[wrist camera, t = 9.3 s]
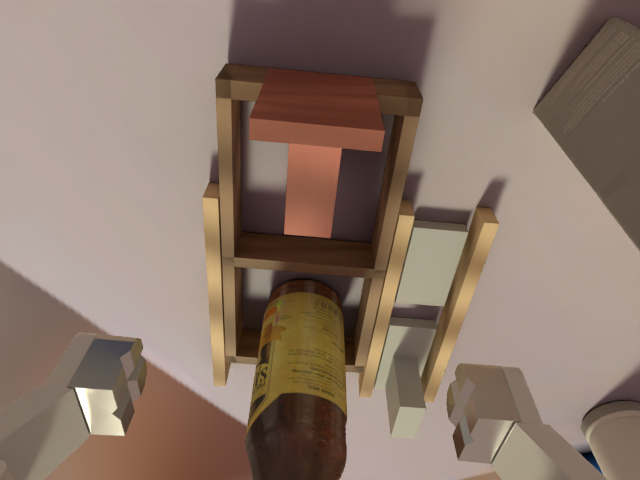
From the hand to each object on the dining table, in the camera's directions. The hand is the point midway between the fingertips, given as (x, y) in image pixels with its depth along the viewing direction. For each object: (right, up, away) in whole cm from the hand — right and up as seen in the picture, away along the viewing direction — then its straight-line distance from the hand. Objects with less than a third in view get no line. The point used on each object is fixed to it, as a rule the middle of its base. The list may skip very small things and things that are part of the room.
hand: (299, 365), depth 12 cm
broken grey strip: (+8, -2, +26) cm, 27 cm away
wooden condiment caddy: (0, +4, +21) cm, 22 cm away
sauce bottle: (-1, -2, +26) cm, 26 cm away
